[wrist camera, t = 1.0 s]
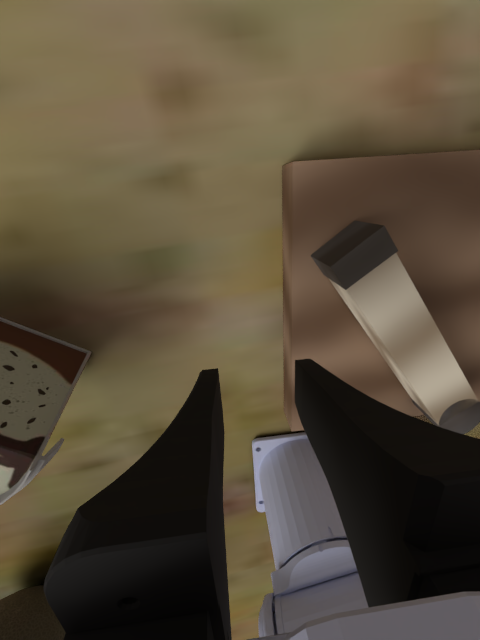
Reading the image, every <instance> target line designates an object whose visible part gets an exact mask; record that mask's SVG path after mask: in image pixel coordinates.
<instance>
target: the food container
mask: <svg viewBox="0 0 480 640" xmlns="http://www.w3.org/2000/svg"><path fill="white" fill-rule="evenodd" d="M91 353H92V352H91V351H89V350H86V349H83V348H81V347H78V346H75V345H73V344H70V343H68V342H65V341H62V340H60V339H57V338H54V337H52V336H49V335H46V334H44V333H41V332H39V331H36V330H33V329H31V328H28V327H25V326H23V325H20V324H17V323H15V322H12V321H10V320H7V319H4V318H2V317H0V505H1V504H3V503H4V502H5V501H7V500H8V499H9V498H10V497H12V496H13V495H15V494H16V493H17V492H19V491H20V490H21V489H22V488H24V487H25V486H26V485H28V484H29V483H30V481H31V480H32V479H33V478H34V477H35V476H36V475H37V474H38V473H39V472H40V471H41V470H42V468H43V467H44V466H45V465H46V464H47V463H48V462H49V461H50V460H51V459H52V457H53V456H54V455H55V454H56V453H57V452H58V450H59V448H60V447H61V445H62V443H63V441H64V439H63V438H61V439H60V440H59V441H58V442H57V443H56V444H55V445H54V446H53V447H52V448H51V449H50V450H49V452H48V453H47V454H46V455H45V456H41V455H42V453H43V451H44V448H45V446H46V444H47V442H48V440H49V438H50V436H51V434H52V432H53V430H54V428H55V426H56V424H57V422H58V420H59V418H60V416H61V414H62V412H63V410H64V408H65V406H66V404H67V402H68V400H69V398H70V396H71V393H72V391H73V389H74V387H75V385H76V383H77V381H78V379H79V377H80V375H81V373H82V371H83V369H84V367H85V365H86V363H87V361H88V359H89V357H90V355H91Z"/></svg>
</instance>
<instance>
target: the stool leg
mask: <svg viewBox="0 0 480 640" xmlns="http://www.w3.org/2000/svg"><path fill="white" fill-rule="evenodd" d="M396 252H398V249H397V247H396V246H395V244H394V242H393V240H392V238H391V237H390V235H389V233H388V231H387V229H386V228H385V226H384V225H379V224H373V223H367V222H360V221H353V222H352V223H351V224H350V225H348V226H347V227H346V228H344V229H343V230H342V231H341V232H339V233H338V234H337V235H336V236H334V237H333V238H332V239H331V240H329V241H328V242H327V243H325V244H324V245H323V246H322V247H320V248H319V249H318V250H317V251H315V252H314V253H313V254H312V255H310V256H311V257H312V259H313V260H314V262H315V263H316V264H317V266H318V267H319V269H320V270H321V272H322V273H323V275H324V276H326V277H327V278H329V280H330V281H331V283H332V284H333V286H334V287H335V289H336V290H337V291H338V293H339V294H340V296H341V297H342V299H343V300H344V302H345V303H346V304H347V306H348V307H349V309H350V310H351V312H352V313H353V315H354V316H355V318H356V319H357V320H358V322H359V323H360V325H361V326H362V328H363V329H364V331H365V332H366V333H367V335H368V336H369V338H370V339H371V341H372V342H373V344H374V345H375V347H376V348H377V349H378V351H379V352H380V354H381V355H382V357H383V358H384V360H385V361H386V362H387V364H388V365H389V367H390V368H391V370H392V371H393V373H394V374H395V376H396V377H397V378H398V380H399V381H400V383H401V384H402V386H403V387H404V389H405V390H406V391H407V393H408V394H409V396H410V397H411V400H412V402H413V404H414V405H415V406H416V407H417V408H418V409H419V410H420V411H421V412H422V413H423V414H424V415H425V416H426V417H427V418H428V419H429V420H430V421H431V422H432V423H433V424H434V425H436V426H438V427H441V428H444V429H447V430H451V431H454V432H457V433H460V434H465V433H467V432H469V431H470V430H472V429H473V428H474V427H475V426H477V424H478V423H479V422H480V402H479V401H478V399H477V397H476V396H475V394H474V392H473V390H472V388H471V387H470V385H469V383H468V381H467V379H466V378H465V376H464V374H463V372H462V370H461V369H460V367H459V365H458V363H457V361H456V360H455V358H454V356H453V354H452V352H451V351H450V349H449V347H448V345H447V343H446V342H445V340H444V338H443V336H442V334H441V333H440V331H439V329H438V327H437V325H436V324H435V322H434V320H433V318H432V316H431V315H430V313H429V311H428V309H427V307H426V306H425V304H424V302H423V300H422V298H421V297H420V295H419V293H418V291H417V290H416V288H415V286H414V284H413V282H412V281H411V279H410V277H409V275H408V273H407V272H406V270H405V268H404V266H403V264H402V263H401V261H400V259H399V257H398V255H397V254H396Z"/></svg>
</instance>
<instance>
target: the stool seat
mask: <svg viewBox="0 0 480 640" xmlns="http://www.w3.org/2000/svg"><path fill="white" fill-rule="evenodd" d="M282 207H283V338H284V412H285V415H286V418H287V420H288V423H289V426H290V429H291V432H293V431H301V430H304V428H303V426H302V424H301V421H300V418H299V415H298V411H297V408H296V405H295V360H300V359H312V360H313V361H315V362H316V363H318V364H319V365H321V366H322V367H323V368H325V369H326V370H328V371H329V372H331V373H332V374H334V375H335V376H337V377H338V378H340V379H341V380H343V381H344V382H346V383H347V384H349V385H351V386H352V387H354V388H355V389H357V390H359V391H361V392H362V393H364V394H366V395H368V396H369V397H371V398H373V399H375V400H377V401H379V402H381V403H383V404H385V405H387V406H389V407H391V408H393V409H395V410H398V411H400V412H402V413H405V414H407V415H409V416H412V417H413V416H421V415H424V414H423V413H422V412H421V411H420V410H419V409H418V408H417V407H416V406H415V405H414V404H413V402H412V400H411V397H410V396H409V394H408V393H407V391H406V390H405V389H404V387H403V386H402V384H401V383H400V381H399V380H398V378H397V377H396V376H395V374H394V373H393V371H392V370H391V368H390V367H389V365H388V364H387V362H386V361H385V360H384V358H383V357H382V355H381V354H380V352H379V351H378V349H377V348H376V347H375V345H374V344H373V342H372V341H371V339H370V338H369V336H368V335H367V333H366V332H365V331H364V329H363V328H362V326H361V325H360V323H359V322H358V320H357V319H356V318H355V316H354V315H353V313H352V312H351V310H350V309H349V307H348V306H347V304H346V303H345V302H344V300H343V299H342V297H341V296H340V294H339V293H338V291H337V290H336V289H335V287H334V286H333V284H332V283H331V281H330V280H329V278H327V277H326V276H324V275H323V273H322V272H321V270H320V269H319V267H318V266H317V264H316V263H315V262H314V260H313V259H312V257H311V256H310V255H312V254H313V253H314V252H315V251H317V250H318V249H319V248H320V247H322V246H323V245H324V244H325V243H327V242H328V241H329V240H331V239H332V238H333V237H334V236H336V235H337V234H338V233H339V232H341V231H342V230H343V229H344V228H346V227H347V226H348V225H350V224H351V223H352V222H353V221H360V222H367V223H373V224H379V225H384V226H385V228H386V229H387V231H388V233H389V235H390V237H391V238H392V240H393V242H394V244H395V246H396V247H397V249H398V252H396V254H397V255H398V257H399V259H400V261H401V263H402V264H403V266H404V268H405V270H406V272H407V273H408V275H409V277H410V279H411V281H412V282H413V284H414V286H415V288H416V290H417V291H418V293H419V295H420V297H421V298H422V300H423V302H424V304H425V306H426V307H427V309H428V311H429V313H430V315H431V316H432V318H433V320H434V322H435V324H436V325H437V327H438V329H439V331H440V333H441V334H442V336H443V338H444V340H445V342H446V343H447V345H448V347H449V349H450V351H451V352H452V354H453V356H454V358H455V360H456V361H457V363H458V365H459V367H460V369H461V370H462V372H463V374H464V376H465V378H466V379H467V381H468V383H469V385H470V387H471V388H472V390H473V392H474V394H475V396H476V397H477V399H478V401H479V402H480V150H467V151H451V152H435V153H420V154H404V155H389V156H373V157H357V158H342V159H326V160H311V161H295V162H291V163H288V164H286V165H283V166H282Z"/></svg>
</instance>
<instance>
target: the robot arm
mask: <svg viewBox="0 0 480 640" xmlns="http://www.w3.org/2000/svg"><path fill="white" fill-rule="evenodd" d="M295 405H296V408H297V411H298V415H299V418H300V421H301V424H302V426H303V428H304V431H305V432H302V433H294V434H286V435H278V436H271V437H263V438H256V439H254V440H253V441H252V450H253V465H254V481H255V496H256V509H257V511H258V512H266V517H267V523H268V528H269V534H270V539H271V545H272V550H273V556H274V561H275V567H276V571H274V572H272V573H271V578H272V584H273V590H274V593H269V594H267V595H266V596H265V597H264V600H263V605H262V607H261V610H260V613H259V638H253V639H248V640H480V439H477V438H473V437H470V436H466V435H463V434H460V433H457V432H454V431H451V430H447V429H444V428H441V427H438V426H436V425H433V424H430V423H427V422H425V421H422V420H420V419H417V418H414V417H412V416H409V415H407V414H405V413H402V412H400V411H398V410H395V409H393V408H391V407H389V406H387V405H385V404H383V403H381V402H379V401H377V400H375V399H373V398H371V397H369V396H368V395H366V394H364V393H362V392H361V391H359V390H357V389H355V388H354V387H352V386H351V385H349V384H347V383H346V382H344V381H343V380H341V379H340V378H338V377H337V376H335V375H334V374H332V373H331V372H329V371H328V370H326V369H325V368H323V367H322V366H321V365H319V364H318V363H316V362H315V361H313V360H312V359H300V360H295ZM258 447H260V448H258ZM223 461H224V423H223V410H222V401H221V392H220V383H219V374H218V369H209V370H202V371H201V372H200V374H199V377H198V379H197V381H196V384H195V386H194V388H193V390H192V391H191V393H190V395H189V397H188V398H187V400H186V402H185V404H184V405H183V407H182V408H181V410H180V411H179V413H178V414H177V416H176V417H175V419H174V420H173V421H172V423H171V424H170V425H169V427H168V428H167V429H166V430H165V432H164V433H163V434H162V435H161V437H160V438H159V439H158V440H157V441H156V442H155V443H154V444H153V445H152V447H151V448H150V449H149V450H148V451H147V452H146V453H145V454H144V455H143V456H142V457H141V458H140V459H139V460H138V461H137V462H136V463H135V464H134V465H132V466H131V467H130V468H129V469H128V470H127V471H126V472H124V473H123V474H122V475H121V476H120V477H119V478H117V479H116V480H115V481H114V482H112V483H111V484H110V485H109V486H107V487H106V488H105V489H103V490H102V491H101V492H99V493H98V494H97V495H95V496H94V497H93V498H91V499H90V500H89V501H87V502H86V503H84V504H83V505H82V506H80V507H79V508H78V509H77V511H76V513H75V515H74V517H73V519H72V521H71V522H70V524H69V526H68V528H67V530H66V532H65V534H64V536H63V538H62V540H61V543H60V545H59V547H58V550H57V552H56V554H55V557H54V559H53V561H52V564H51V566H50V568H49V571H48V573H47V575H46V578H45V582H44V588H43V590H44V593H45V596H46V599H47V601H48V603H49V605H50V607H51V608H52V610H53V612H54V613H55V615H56V617H57V619H58V620H59V622H60V624H61V625H62V627H63V629H64V630H65V632H66V633H65V636H64V639H63V640H231V625H230V610H229V594H228V579H227V563H226V547H225V530H224V513H223Z"/></svg>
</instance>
